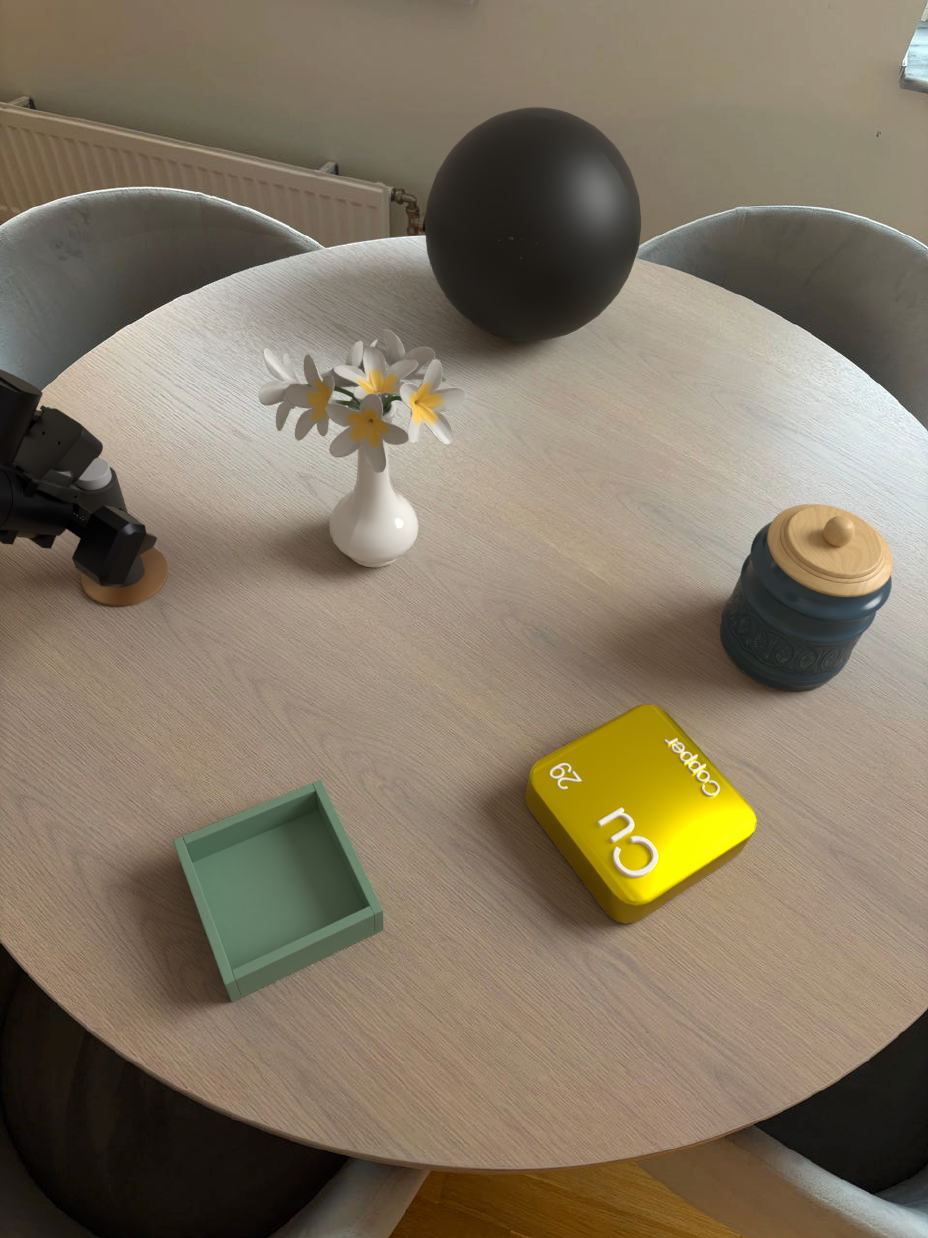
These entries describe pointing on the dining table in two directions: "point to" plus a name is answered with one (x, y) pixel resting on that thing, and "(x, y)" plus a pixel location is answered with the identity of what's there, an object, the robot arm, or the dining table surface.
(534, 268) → the ball
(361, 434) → the flower vase
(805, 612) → the canister
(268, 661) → the dining table surface
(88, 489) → the salt mill
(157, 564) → the coaster
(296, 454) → the dining table surface
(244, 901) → the box
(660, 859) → the element tile
